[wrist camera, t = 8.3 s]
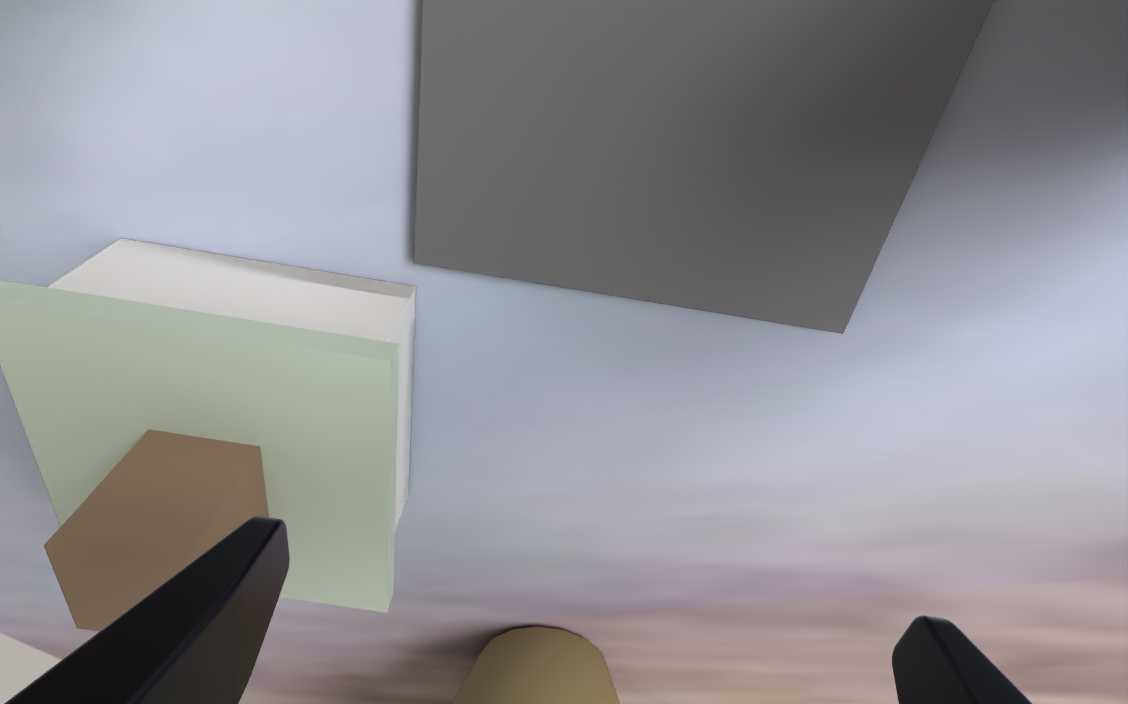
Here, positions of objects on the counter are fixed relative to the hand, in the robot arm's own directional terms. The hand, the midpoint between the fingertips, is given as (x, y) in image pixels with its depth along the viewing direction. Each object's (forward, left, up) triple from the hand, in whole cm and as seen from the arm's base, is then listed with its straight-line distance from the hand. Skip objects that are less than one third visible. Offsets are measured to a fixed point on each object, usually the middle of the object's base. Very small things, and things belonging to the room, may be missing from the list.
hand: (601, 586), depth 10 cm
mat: (-1, -5, -12) cm, 13 cm away
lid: (+10, +7, -8) cm, 15 cm away
